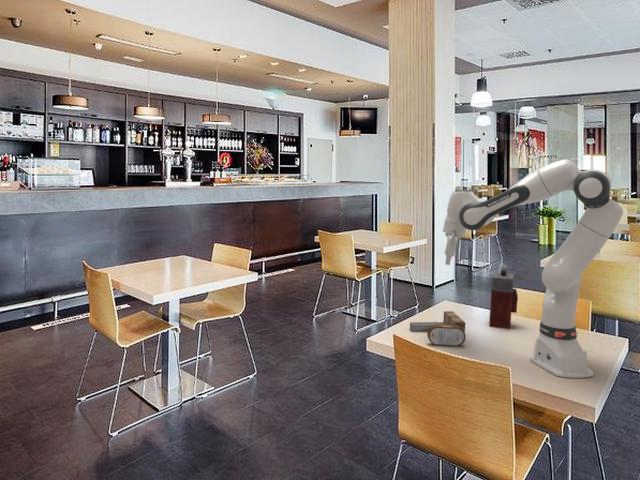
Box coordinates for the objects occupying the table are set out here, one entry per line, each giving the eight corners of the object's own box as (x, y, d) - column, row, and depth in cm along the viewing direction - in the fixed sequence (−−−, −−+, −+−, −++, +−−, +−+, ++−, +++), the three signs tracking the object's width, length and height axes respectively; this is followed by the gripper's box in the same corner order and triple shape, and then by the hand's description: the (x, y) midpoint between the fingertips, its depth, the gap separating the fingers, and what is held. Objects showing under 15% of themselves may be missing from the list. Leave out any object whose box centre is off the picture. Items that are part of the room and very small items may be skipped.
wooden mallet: (464, 341, 201) (465, 322, 200) (419, 341, 200) (419, 323, 199) (451, 328, 217) (452, 311, 216) (409, 328, 216) (410, 311, 215)
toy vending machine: (515, 329, 216) (520, 268, 212) (489, 326, 220) (493, 266, 216) (515, 323, 225) (520, 264, 220) (490, 320, 229) (494, 262, 224)
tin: (464, 344, 198) (465, 324, 196) (465, 347, 195) (466, 327, 193) (426, 342, 199) (427, 323, 198) (427, 345, 196) (428, 325, 195)
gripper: (462, 235, 186) (454, 269, 189) (463, 226, 205) (456, 257, 208) (445, 232, 187) (438, 266, 191) (447, 223, 206) (441, 254, 210)
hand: (447, 261), depth 200 cm, fingers open, 8 cm apart
